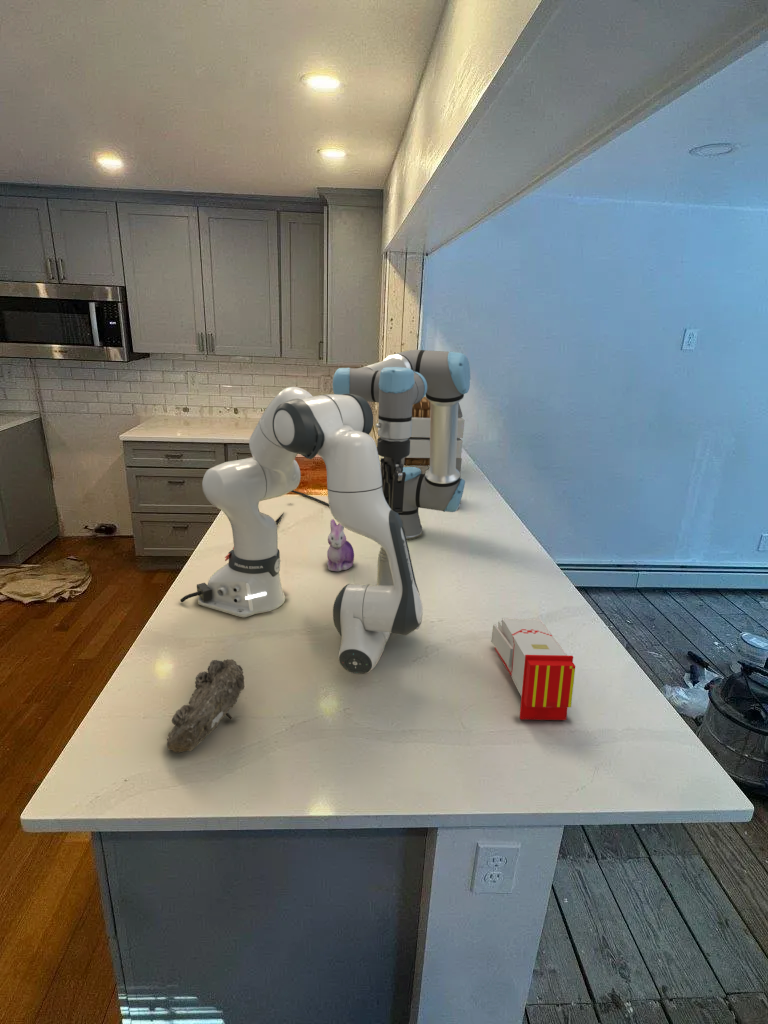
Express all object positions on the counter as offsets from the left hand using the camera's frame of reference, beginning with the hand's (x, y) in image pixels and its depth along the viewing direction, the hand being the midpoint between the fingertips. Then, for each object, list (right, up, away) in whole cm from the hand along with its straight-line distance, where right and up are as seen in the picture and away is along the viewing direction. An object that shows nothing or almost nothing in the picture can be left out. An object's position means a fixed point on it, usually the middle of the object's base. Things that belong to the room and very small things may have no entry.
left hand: (386, 596), depth 143 cm
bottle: (0, -6, +1) cm, 6 cm away
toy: (+30, -15, -19) cm, 39 cm away
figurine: (-14, +5, +30) cm, 34 cm away
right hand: (+1, +16, -7) cm, 18 cm away
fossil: (-33, -18, -35) cm, 51 cm away
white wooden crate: (+17, +40, +132) cm, 139 cm away
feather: (-39, +20, +68) cm, 81 cm away
